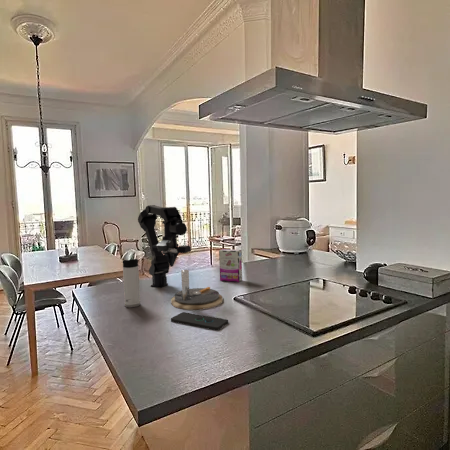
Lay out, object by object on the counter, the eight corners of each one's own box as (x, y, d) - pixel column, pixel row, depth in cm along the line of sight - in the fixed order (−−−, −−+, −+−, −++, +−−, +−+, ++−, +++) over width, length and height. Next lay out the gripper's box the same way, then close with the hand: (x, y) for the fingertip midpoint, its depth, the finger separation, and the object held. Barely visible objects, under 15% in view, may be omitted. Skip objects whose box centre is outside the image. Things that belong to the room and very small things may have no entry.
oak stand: (160, 305, 145) (160, 302, 145) (188, 291, 165) (188, 288, 165) (207, 312, 136) (207, 309, 135) (231, 296, 156) (231, 293, 155)
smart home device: (217, 327, 117) (169, 318, 127) (217, 332, 117) (170, 323, 127) (229, 319, 125) (183, 311, 134) (229, 323, 125) (183, 315, 134)
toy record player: (191, 289, 163) (191, 260, 162) (227, 294, 154) (226, 264, 153) (165, 301, 146) (164, 269, 145) (203, 307, 137) (202, 273, 136)
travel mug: (126, 308, 142) (124, 260, 141) (123, 304, 148) (121, 257, 146) (142, 306, 145) (139, 258, 143) (138, 301, 151) (136, 256, 149)
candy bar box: (242, 280, 184) (242, 249, 183) (239, 282, 180) (238, 251, 178) (223, 278, 189) (222, 248, 187) (219, 280, 184) (218, 250, 182)
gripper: (143, 235, 161) (145, 268, 162) (177, 236, 153) (179, 271, 154) (158, 232, 171) (159, 263, 172) (190, 233, 163) (192, 266, 164)
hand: (171, 266), depth 166 cm, fingers closed
